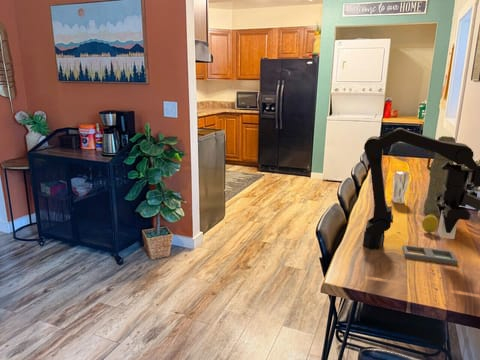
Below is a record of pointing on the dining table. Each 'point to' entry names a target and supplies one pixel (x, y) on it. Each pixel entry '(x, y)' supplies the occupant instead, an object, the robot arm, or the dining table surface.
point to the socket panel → (429, 254)
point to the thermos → (436, 179)
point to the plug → (442, 229)
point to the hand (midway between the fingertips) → (446, 230)
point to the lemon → (430, 223)
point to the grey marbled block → (400, 186)
